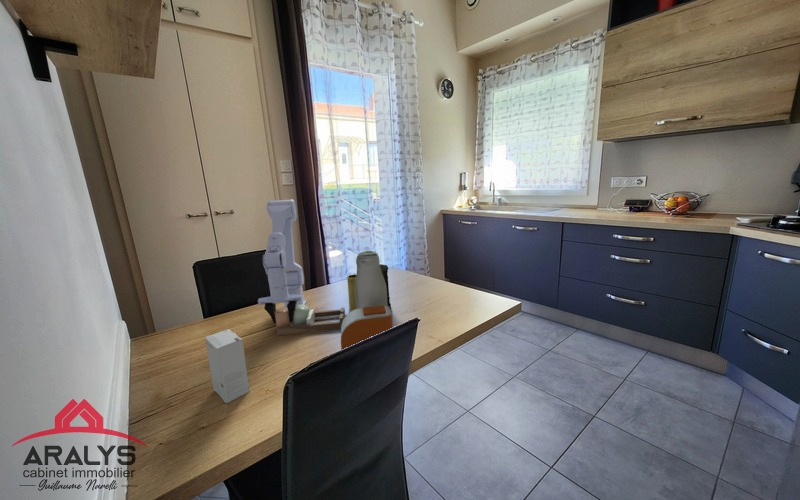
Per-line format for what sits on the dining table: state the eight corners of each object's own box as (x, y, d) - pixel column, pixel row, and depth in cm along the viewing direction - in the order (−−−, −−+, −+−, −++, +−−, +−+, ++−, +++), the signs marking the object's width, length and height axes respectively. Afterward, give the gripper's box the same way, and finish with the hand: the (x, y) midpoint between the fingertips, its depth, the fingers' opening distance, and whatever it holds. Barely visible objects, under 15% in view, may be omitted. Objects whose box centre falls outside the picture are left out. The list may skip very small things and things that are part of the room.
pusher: (311, 319, 113) (310, 309, 112) (350, 315, 114) (349, 305, 113) (307, 329, 105) (306, 319, 104) (349, 325, 106) (348, 315, 105)
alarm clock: (390, 341, 95) (388, 301, 92) (395, 356, 87) (392, 313, 84) (343, 348, 92) (339, 307, 89) (342, 364, 84) (338, 319, 81)
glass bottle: (375, 322, 108) (369, 246, 102) (394, 331, 101) (390, 250, 95) (352, 332, 102) (345, 252, 95) (371, 343, 94) (365, 256, 88)
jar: (278, 325, 110) (276, 308, 108) (292, 323, 110) (290, 307, 109) (275, 331, 105) (272, 314, 103) (290, 330, 106) (287, 312, 104)
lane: (285, 320, 113) (284, 311, 112) (345, 314, 116) (344, 306, 115) (277, 335, 102) (275, 325, 101) (343, 328, 104) (342, 319, 104)
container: (364, 314, 115) (360, 269, 111) (374, 305, 123) (371, 263, 119) (385, 317, 111) (382, 271, 107) (395, 308, 120) (392, 264, 115)
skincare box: (213, 390, 76) (201, 337, 72) (238, 378, 80) (228, 327, 77) (226, 405, 70) (214, 348, 67) (252, 391, 75) (242, 337, 72)
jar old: (293, 319, 110) (296, 303, 109) (307, 322, 111) (310, 305, 110) (290, 326, 105) (293, 309, 104) (305, 328, 106) (308, 311, 105)
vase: (361, 314, 116) (358, 278, 112) (346, 313, 117) (343, 278, 114) (366, 307, 121) (364, 273, 118) (352, 306, 123) (349, 273, 119)
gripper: (252, 291, 100) (258, 328, 103) (297, 287, 101) (302, 324, 104) (259, 284, 106) (265, 319, 109) (301, 280, 108) (306, 315, 111)
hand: (283, 321), depth 107 cm, fingers closed on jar, 5 cm apart
